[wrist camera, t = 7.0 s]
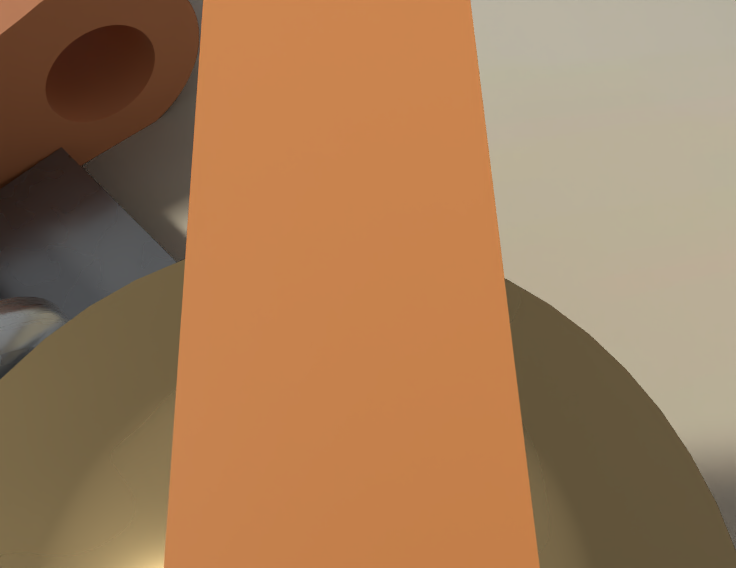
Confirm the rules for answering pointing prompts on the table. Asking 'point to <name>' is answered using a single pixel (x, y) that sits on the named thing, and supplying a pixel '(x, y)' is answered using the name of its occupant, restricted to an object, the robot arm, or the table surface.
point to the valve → (340, 345)
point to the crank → (87, 74)
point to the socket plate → (62, 252)
